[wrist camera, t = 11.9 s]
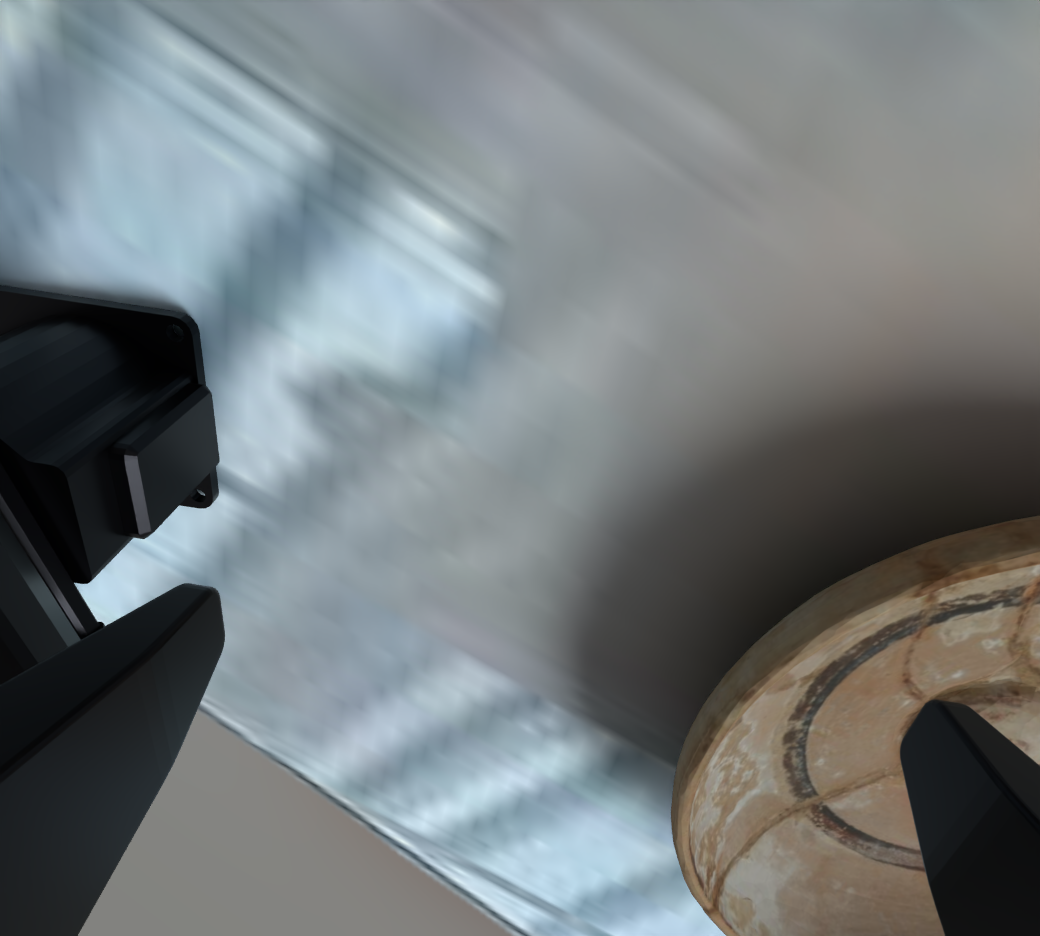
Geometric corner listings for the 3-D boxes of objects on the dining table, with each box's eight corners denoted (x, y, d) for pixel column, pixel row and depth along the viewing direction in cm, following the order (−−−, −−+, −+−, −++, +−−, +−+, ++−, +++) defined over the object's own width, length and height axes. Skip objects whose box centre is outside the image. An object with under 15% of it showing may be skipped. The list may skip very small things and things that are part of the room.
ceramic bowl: (1546, 386, 18) (1858, 490, 13) (1234, 894, 29) (1346, 1038, 25) (635, 477, 21) (647, 581, 17) (677, 896, 33) (691, 1022, 28)
